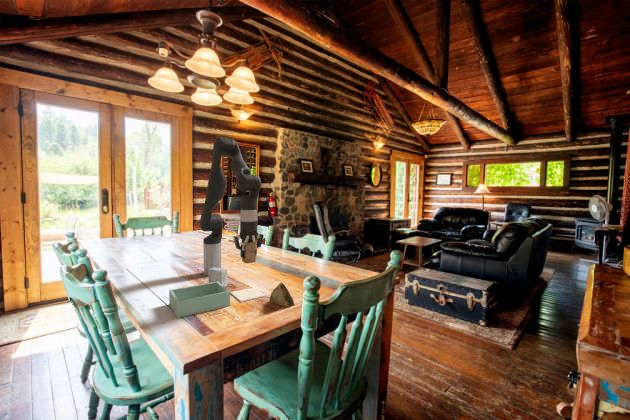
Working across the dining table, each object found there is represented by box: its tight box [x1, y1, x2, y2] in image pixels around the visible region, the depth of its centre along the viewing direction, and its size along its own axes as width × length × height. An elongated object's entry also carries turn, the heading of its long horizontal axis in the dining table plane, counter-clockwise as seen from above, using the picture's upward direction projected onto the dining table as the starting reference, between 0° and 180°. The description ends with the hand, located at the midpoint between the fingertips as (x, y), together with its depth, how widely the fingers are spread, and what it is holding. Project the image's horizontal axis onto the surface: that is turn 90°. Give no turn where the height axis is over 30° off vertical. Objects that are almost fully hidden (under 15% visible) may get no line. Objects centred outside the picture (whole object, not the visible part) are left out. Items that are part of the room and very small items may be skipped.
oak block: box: [241, 241, 257, 264], centre depth 127 cm, size 4×4×9 cm
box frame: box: [168, 281, 231, 319], centre depth 117 cm, size 15×20×6 cm
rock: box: [269, 282, 296, 307], centre depth 121 cm, size 11×9×10 cm
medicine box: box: [207, 267, 228, 288], centre depth 138 cm, size 8×4×9 cm, turn 71°
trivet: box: [230, 286, 267, 303], centre depth 129 cm, size 12×12×1 cm
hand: (248, 257), depth 128 cm, fingers closed on oak block, 4 cm apart
